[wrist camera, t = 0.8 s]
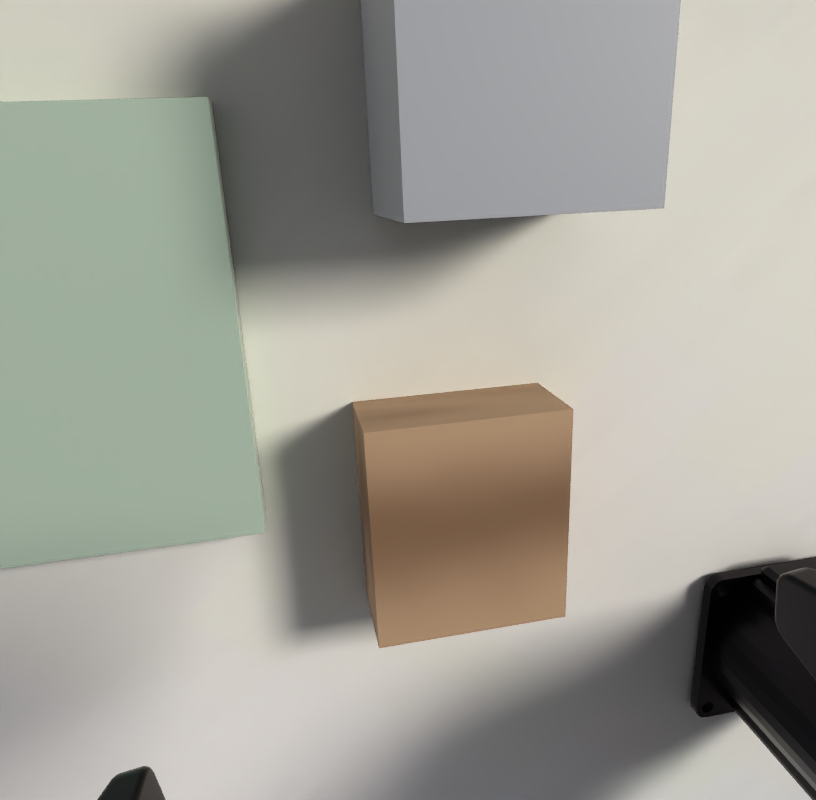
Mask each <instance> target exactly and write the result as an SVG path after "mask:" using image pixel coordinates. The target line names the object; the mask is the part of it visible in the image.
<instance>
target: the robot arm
mask: <svg viewBox="0 0 816 800" xmlns="http://www.w3.org/2000/svg"><path fill="white" fill-rule="evenodd" d="M719 587H721V588H720V589H719V590H718V588H719ZM690 703H691V707H692V708H693V709H694V710H695V712H696V713H697V714H698V715H699V716H700V717H710V716H715V715H720V714H724V713H729V712H734V711H735V712H736V713H737V714H738V715H739V716H740V717H741V718H742V720H743V721H744V722H745V723H746V724H747V725H748V726H749V728H750V729H751V730H752V731H753V732H754V733H755V734H756V736H757V737H758V738H759V739H760V740H761V741H762V742H763V744H764V745H765V746H766V747H767V748H768V749H769V750H770V752H771V753H772V754H773V755H774V756H775V757H776V758H777V760H778V761H779V762H780V763H781V764H782V765H783V767H784V768H785V769H786V770H787V771H788V772H789V773H790V775H791V776H792V777H793V778H794V779H795V780H796V781H797V783H798V784H799V785H800V786H801V787H802V788H803V789H804V791H805V792H806V793H807V794H808V795H809V796H810V797H811V799H812V800H816V558H811V559H805V560H799V561H793V562H786V563H780V564H774V565H768V566H762V567H756V568H750V569H744V570H738V571H732V572H725V573H719V574H715V575H713V576H711V577H710V578H709V579H708V580H707V581H706V583H705V586H704V593H703V601H702V610H701V618H700V626H699V635H698V643H697V652H696V660H695V668H694V677H693V685H692V694H691V702H690ZM98 800H165V797H164V795H163V793H162V790H161V788H160V786H159V783H158V781H157V779H156V776H155V774H154V772H153V770H152V769H151V768H150V767H148V766H143V767H139V768H136V769H133V770H129V771H126V772H123V773H120V774H118V775H116V776H115V777H114V778H113V779H112V780H111V781H110V782H109V784H108V785H107V787H106V788H105V790H104V791H103V792H102V794H101V795H100V797H99V798H98Z"/></svg>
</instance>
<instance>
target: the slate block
mask: <svg viewBox="0 0 816 800" xmlns="http://www.w3.org/2000/svg"><path fill="white" fill-rule="evenodd" d="M680 2H681V0H360V3H361V20H362V37H363V54H364V70H365V87H366V104H367V121H368V138H369V155H370V171H371V188H372V205H373V214H374V215H377V216H381V217H384V218H388V219H391V220H395V221H398V222H402V223H415V222H433V221H450V220H467V219H485V218H502V217H520V216H537V215H554V214H572V213H589V212H606V211H624V210H641V209H659V208H664V203H665V190H666V178H667V165H668V153H669V140H670V127H671V115H672V102H673V90H674V77H675V64H676V52H677V39H678V27H679V14H680Z"/></svg>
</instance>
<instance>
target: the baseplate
mask: <svg viewBox="0 0 816 800" xmlns="http://www.w3.org/2000/svg"><path fill="white" fill-rule="evenodd" d="M262 533H266V511H265V504H264V496H263V488H262V481H261V473H260V466H259V458H258V450H257V443H256V435H255V427H254V420H253V412H252V405H251V397H250V389H249V382H248V374H247V367H246V359H245V351H244V344H243V336H242V329H241V321H240V313H239V306H238V298H237V290H236V283H235V275H234V268H233V260H232V252H231V245H230V237H229V230H228V222H227V214H226V207H225V199H224V192H223V184H222V176H221V169H220V161H219V153H218V146H217V138H216V131H215V123H214V115H213V108H212V102H211V100H210V99H209V98H208V97H179V98H140V99H100V100H61V101H21V102H0V569H2V568H10V567H17V566H25V565H32V564H40V563H47V562H54V561H62V560H69V559H77V558H84V557H91V556H99V555H106V554H114V553H121V552H128V551H136V550H143V549H151V548H158V547H165V546H173V545H180V544H188V543H195V542H202V541H210V540H217V539H225V538H232V537H239V536H247V535H254V534H262Z"/></svg>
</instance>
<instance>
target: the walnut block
mask: <svg viewBox="0 0 816 800" xmlns="http://www.w3.org/2000/svg"><path fill="white" fill-rule="evenodd" d="M352 405H353V418H354V431H355V444H356V457H357V470H358V483H359V496H360V509H361V522H362V535H363V548H364V561H365V574H366V587H367V597H368V602H369V606H370V610H371V615H372V619H373V623H374V628H375V632H376V637H377V641H378V645H379V648H383V647H389V646H395V645H400V644H406V643H412V642H418V641H424V640H430V639H436V638H441V637H447V636H453V635H459V634H465V633H471V632H477V631H482V630H488V629H494V628H500V627H506V626H512V625H518V624H523V623H529V622H535V621H541V620H547V619H553V618H559V617H564V616H565V609H566V583H567V557H568V531H569V506H570V480H571V454H572V428H573V409H572V408H571V407H569V406H568V405H567V404H565V403H564V402H563V401H561V400H560V399H559V398H557V397H556V396H555V395H553V394H552V393H550V392H549V391H548V390H546V389H545V388H544V387H542V386H541V385H540V384H538V383H532V384H522V385H512V386H503V387H493V388H483V389H474V390H464V391H454V392H445V393H435V394H425V395H416V396H406V397H396V398H387V399H377V400H367V401H358V402H352Z"/></svg>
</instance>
